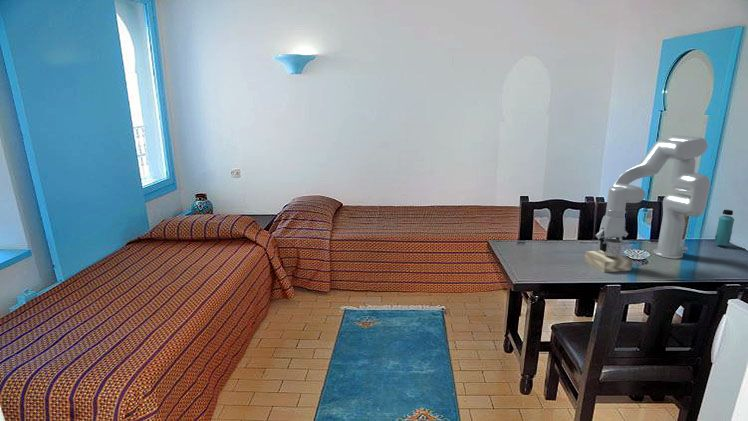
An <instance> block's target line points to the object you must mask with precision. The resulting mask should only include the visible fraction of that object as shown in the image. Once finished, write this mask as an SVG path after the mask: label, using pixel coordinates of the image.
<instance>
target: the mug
mask: <svg viewBox="0 0 748 421" xmlns="http://www.w3.org/2000/svg"><path fill="white" fill-rule="evenodd" d="M622 243H623V242H622V241H621V240H618V239H616V238H608V240H607V241H606V244H607V245H606V251H605V252H604V254H605V255H607V256H612V257H618V256H620V254H621V250H622ZM600 244H601V242H600V241H599V240H598V249H600Z"/></svg>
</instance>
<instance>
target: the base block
mask: <svg viewBox="0 0 748 421" xmlns="http://www.w3.org/2000/svg"><path fill="white" fill-rule="evenodd" d="M584 255H585V256H584V262H585V263H587V264H589V265H590V266H591V267H594V268H596V269H597V270H599V271H601V272H603V273H612V272H613V273H615V272H626V271H632V267H633V259H631V258H629V257H628V256H625V255H624V254H621V253H620V256H618V257H612V256H607V255H605V254H604V252H603V251H601V250H600V249H599V250H587V251H586V250H585V254H584Z"/></svg>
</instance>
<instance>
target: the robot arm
mask: <svg viewBox="0 0 748 421" xmlns="http://www.w3.org/2000/svg"><path fill="white" fill-rule="evenodd" d="M708 145H709V144H708V141H707V140H706V139H705V138H704V137H698V136H691V135H690V136H689V135H671V136H668V137H667V138H666V139H660V140H657V141H656V142H654V144H653V145H652V146H651V148H650V149H649V150H648V152H647V153H646V155H644V157H643V159H642V160H641V161H640V163H638V164H637V165H635V166H633V167H631V168H629V169H627V170H626V171H624V172H623V173H621V174H620V175H619V176H618V177H617V179H616V180H615V182H613V184H612V186H610V188H608V194H607V202H606V208H605V215H603V217H602V219H601V223H600V227H599V231H598V232H597V233H596V234H595V237H596V238H597V240H598V242H599V241H600V242H601V244H600V248H599V251H600V250H601V251H603V252H605V251H606V245H607V244H606V241H607V240H608V238H612V239H618V240H621V241H622V243H623V242H624V240H625V239H626V237H627V236H628V235H629V233H628V232H627V230H626V217H625V214H627V210H626V207H627V206H626V205H627V203H630V204H637V203H640V202H642V201H643V200H644V199H645V197H646V192H645V190H644V189H643V188H642V187H640V186H636V185H632V184H631V183H632V182H634V181H636V180H639V179H642V178H643V179H644V178H648V177H653V176H655V175H658V173H659V172H660V171H661V169H662V168H663V166H665V164H666V163H667V161H668V160H673V167H672V171H671V177H670V187H671V188H672V189H673V190H675V191H679V192H669V193H668V194H666V195H665V196H664V197H663V200H662V219H661V220H662V221H661V225H660V230H659V231H660V232H659V237H658V242H657V246H656V248H654V249H653V250H652V253H653V254H654V255H655V256H659V257H662V258H666V259H672V260H673V259H675V260H679V259H683V257H684V254H683V253H682V252H688V251H689V248H688V246H683V247H682V242H683V237H684V236H683V235H684V231H685V226H686V219H685V216H687V217H692V218H698V217H701V216H702V215H703V214H704V213H705V211H706V207H707V203H708V199H709V194H710V189H711V180H710V178H709V177H708V176H707V175H705V174H701V173H696V172H695V168H696V164H697V163H696V158H697V157H701V156H702V155H703V154H705V153H706V151H707V149H708V147H709V146H708ZM680 192H683V193H680ZM684 193H688V194H684ZM689 194H690V195H689Z"/></svg>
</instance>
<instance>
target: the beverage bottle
mask: <svg viewBox="0 0 748 421" xmlns="http://www.w3.org/2000/svg"><path fill="white" fill-rule="evenodd" d="M722 214H723V215H721V216H719V219H718V222H717V223H718V224H717V226H716V231H715V236H714V244H716V245H719V246H723V247H724V246H725V247H726V246H729V245H730V243H731V237H732V233H733V226H734V222H735V218H734V217H733V215H734V210H733V209H732V210H731V209H723V210H722Z"/></svg>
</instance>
